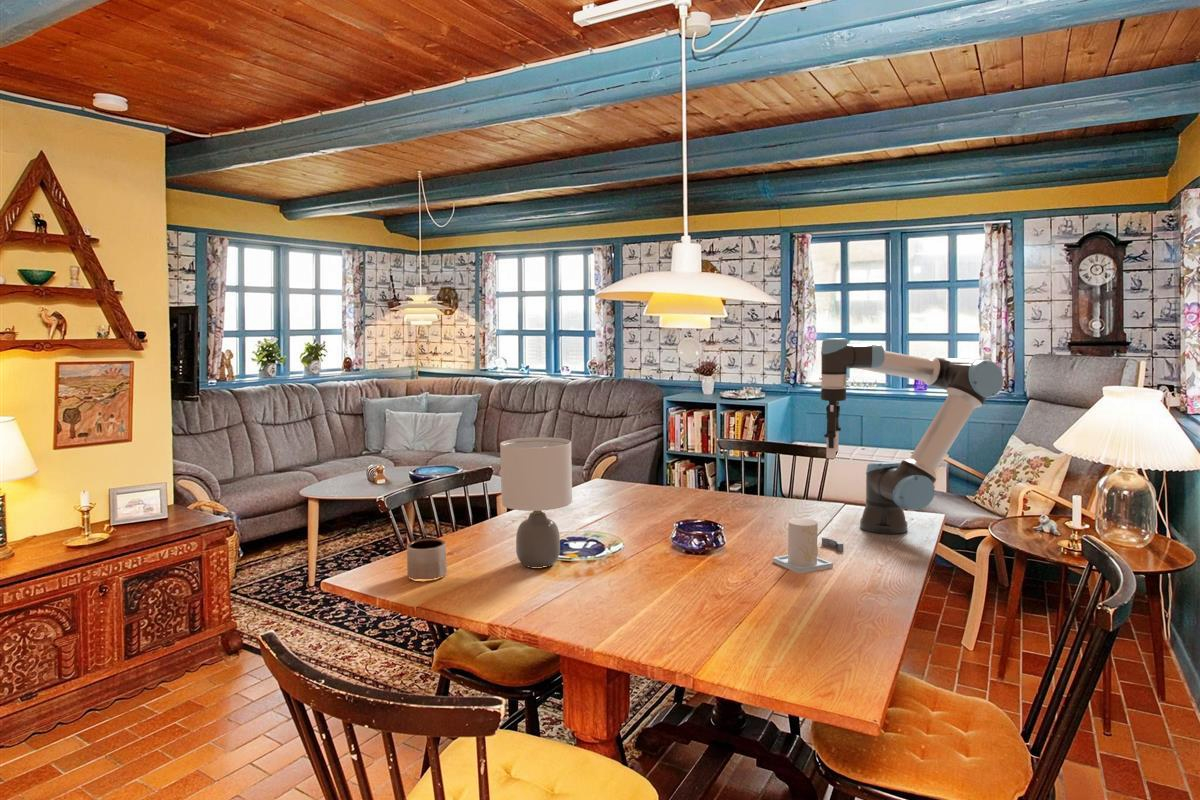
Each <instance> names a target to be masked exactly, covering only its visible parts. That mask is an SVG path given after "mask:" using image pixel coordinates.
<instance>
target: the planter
mask: <svg viewBox="0 0 1200 800" xmlns="http://www.w3.org/2000/svg"><path fill="white" fill-rule="evenodd" d="M446 546H447V545H446V541H445V540H443V539H440V538H439V539H438V538H423V539H417V540H416V539H415V540H413V541H410V542H408V543H407V544H406V559H407V560H406V563H407V565H406V566H407V568H406V569H407V570H406V571H407V572H406V573H407V578H408V577H410V578H413V579H434V578H438V577H441V576H444V575H445V574H446V573H448V571H447V567H448V566H447V549H446ZM446 575H447V574H446ZM446 575H445V576H446ZM445 576H444V577H445Z"/></svg>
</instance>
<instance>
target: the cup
mask: <svg viewBox="0 0 1200 800" xmlns="http://www.w3.org/2000/svg"><path fill="white" fill-rule="evenodd" d="M818 522H819V521H816V520H814V519H810V518H804V517H803V518H802V517H801V518H798V517H797V518H791V519H789V520H788V527H787V528H788V535H787V536H788V537H787V539H788V541H787V543H788V547H787V555H788V562H789V563H790V564H792V565H795V566H801V567H808V566H813V565H816V564H817V557H818V555H817V547H818V531H819V530H818V526H819V525H818Z"/></svg>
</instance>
